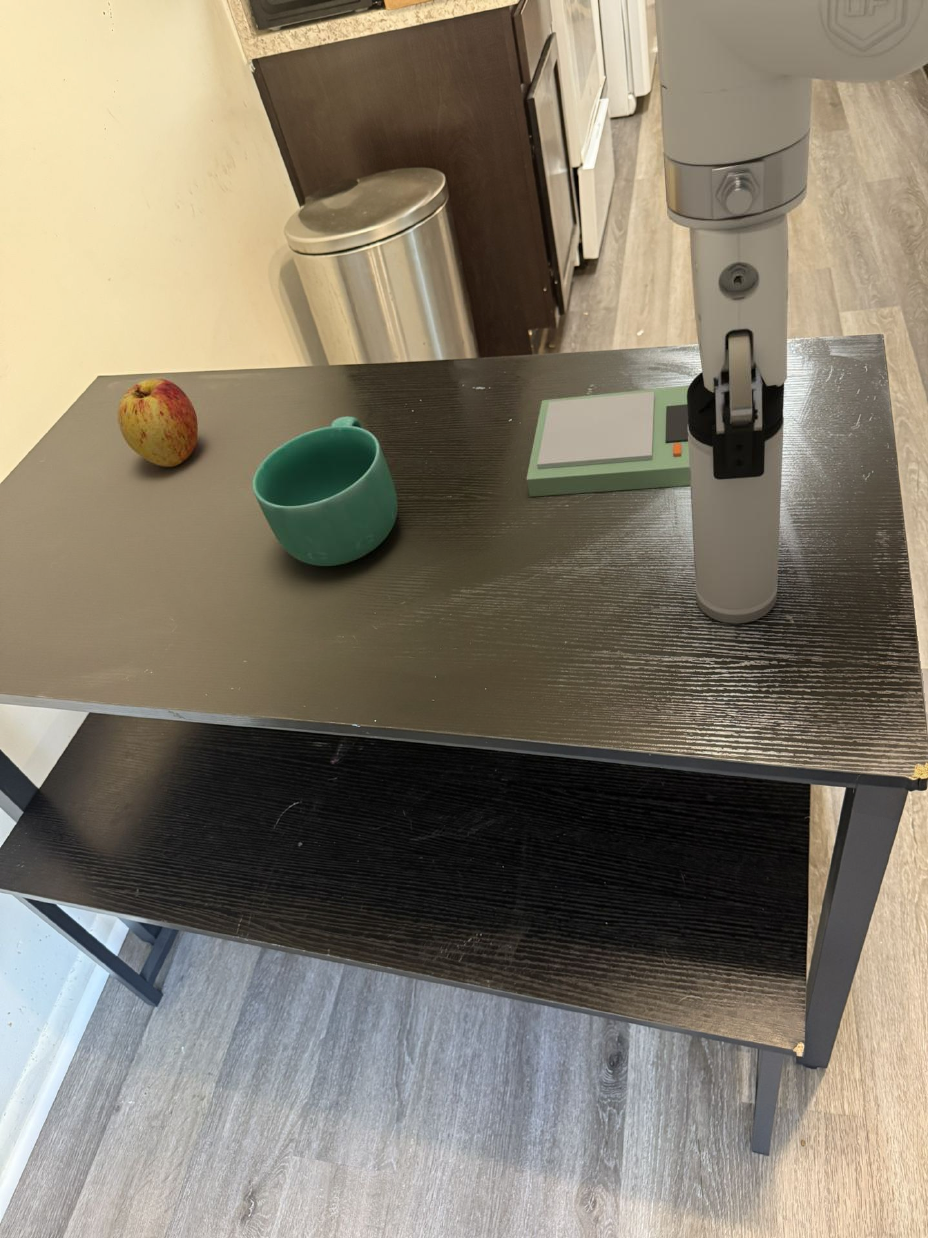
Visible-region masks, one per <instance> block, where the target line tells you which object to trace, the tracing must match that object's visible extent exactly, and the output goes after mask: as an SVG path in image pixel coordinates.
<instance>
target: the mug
mask: <svg viewBox="0 0 928 1238" xmlns="http://www.w3.org/2000/svg"><path fill="white" fill-rule="evenodd" d="M330 424H331V425H330V426H326V427H320V428H317V429H314V430H313V429H312V430H310V431H307V432H305V433H302V434H300V435H298V436H296V437H294V438H291V439H290V440H287V441H286V442H284V443H283V444H281V445H280V446H278V447H277V448H275V449H274V450H273V451H272V452H271V453H269V455H268V456H266V457H265V458H264V460H263V461H262V462H261V463H260V464H259V466H258V467H257V469H256V471H255V473H254V474H253V475H254V476H253V478H252V491H253V494H254V496H255V498H256V501H257V503H258V505H259V507H260V509H261V511H262V514H263V515H264V517H265V520H266V521H267V524H268V525H269V528H270V530H272V533H273V535H274V536H275V538H276V540H277V541H278V543H279V544H280V545H281V546H282V548H283V549H284V551H286V553H288V554H289V555H290V556H291V557H293V558H294V559H296V560H298V561H300V562H302V563H305V564H308V565H311V566H319V567H331V566H332V567H334V566H338V565H343V564H347V563H351V562H353V561H355V560H358V559H361V558H362V557H365V556H366V555H368V554H369V553H370V552H372V551H374V550H375V549H376V548H378V546H379V545H381V544H382V543H383V542H384V540H385V539H386V538H387V537H388V535H389V534H390V532H391V531H392V529H393V527H394V525H395V523H396V519H397V515H398V509H399V508H398V505H399V504H398V503H399V502H398V496H397V495H398V494H397V491H396V488H395V484H394V480H393V477H392V475H391V472H390V469H389V466H388V463H387V461H386V458H385V455H384V453H383V450H382V448H381V444H380V443H379V441H378V438H377V437H376V436H375V435H374V434H373V433H372V432H370V431H368V430H367V429H364V428H363V425H362V423H361V422H360V420H359V419H357V418H356V417H354V416H341V417H337V418H336V419H334V420H333V421H332V422H331V423H330Z"/></svg>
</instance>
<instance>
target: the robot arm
mask: <svg viewBox="0 0 928 1238" xmlns="http://www.w3.org/2000/svg"><path fill="white" fill-rule="evenodd" d="M654 12H655V13H654V14H655V27H656V47H657V63H658V79H659V80H658V81H659V96H660V97H659V98H660V116H661V117H660V118H661V133H662V149H663V166H664V167H663V169H664V184H665V187H664V188H665V202H666V215H667V217H668V219H669V220H671V221H672V222H673V223H674V224H676V225H678V226H681V227H684V228H687V229H689V245H690V247H689V248H690V267H691V281H692V295H693V306H694V307H693V309H694V318H695V319H694V320H695V327H696V335H697V344H698V351H699V358H700V366H701V372H702V373H703V379H704V386H705V387H706V388H707V389H708V390H709V391H711V392H713V393H714V390H715V399H716V425H712V440H713V475H714V478H715V479H718V480H722V479H736V478H749V477H760V476H762V475H763V474H764V459H765V421H762V385H763V383H762V378H763V380H764V382H765V384H766V385H767V386H771V385H776V386H781V385H782V384H783V383H784V384H785V382H786V381H787V380H788V317H789V316H788V311H789V310H788V308H789V307H788V306H789V225H788V223H789V222H788V213H791V211H793V210H794V209H796V208H798V207H799V205H801V204H802V203H803V201H804V200H805V199H806V197H807V194H808V173H809V172H808V171H809V155H810V154H809V153H810V134H811V133H810V132H811V131H810V130H811V117H812V100H813V99H812V97H813V79H814V80H822V81H830V82H838V83H845V84H875V83H876V84H877V83H882V82H888V81H893V80H895V79H899V78H902V77H904V76H908V75H910V74H911V73H913V72H916V71H917V70H919V69H921V68H923V67H924V66H926V65H928V0H654ZM754 368H755V378H751V369H754ZM721 371H722V372H728V371H729V380H726V381H721ZM728 392H729V394H730V407H726V409H725V412H724V393H728Z"/></svg>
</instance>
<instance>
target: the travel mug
mask: <svg viewBox="0 0 928 1238" xmlns="http://www.w3.org/2000/svg"><path fill="white" fill-rule="evenodd" d="M751 378H755V368H754V369H751ZM726 380H729V371H728V372H722V371H721V381H726ZM762 383H763V385H762V421H765V459H764V474H763V475H762V476H760V477H749V478H736V479H722V480H718V479H715V478H714V475H713V440H712V425H716V399H715V390H714V393H713V392H711V391H709V390H708V389H707V388H706V387H705V386H704V379H703V373H702V371H701V372H700V373H698V374H697V376H695V377H694V378H693V380H692V381H691V383H690V384H689V385H690V386H689V388H688V390H687V410H688V427H687V428H688V447H689V467H690V485H689V487H690V505H691V507H690V508H691V528H692V543H693V544H692V545H693V547H692V548H693V565H694V566H693V567H694V584H695V600H696V603H697V605H698V608H699V609H700V610H701V611H702V613H703V614H705V615H706V616H708V617H709V618H711V619H713V620H715V621H718V622H721V623H726V624H737V625H738V624H739V625H740V624H747V623H751V622H754V621H756V620H757V621H758V620H759V619H762V618H763V617H764V616H766V615H767V614H768V613H769V612H771V610H773V608H774V607H775V605H776V603H777V600H778V577H779V576H778V575H779V552H780V551H779V550H780V526H781V502H782V499H781V498H782V476H783V475H782V474H783V453H784V452H783V450H784V449H783V448H784V425H785V424H784V423H785V418H784V399H785V382H784V383H783V384H782V385H781V386H776V385H771V386H767V385H766V384H765V382H764V380H763V378H762ZM726 407H730V394H729V392H728V393H724V412H725V409H726Z"/></svg>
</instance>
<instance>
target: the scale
mask: <svg viewBox="0 0 928 1238" xmlns="http://www.w3.org/2000/svg"><path fill="white" fill-rule="evenodd" d="M689 386H690V384H688V385H677V386H669V387H660V388H649V389H648V388H647V389H641V390H631V391H619V392H612V393H611V392H610V393H599V394H591V395H581V396H572V397H571V396H570V397H562V398H561V397H560V398H553V399H552V398H551V399H542V400H541V403H540V408H539V413H538V414H539V415H538V417H537V418H538V419H537V423H536V429H535V434H534V438H533V443H532V448H531V453H530V459H529V464H528V468H527V474H526V479H525V480H526V485H527V489H528V494H529V497H530V498H533V497H544V496H546V497H547V496H548V497H549V496H561V495H574V494H587V493H588V494H589V493H590V494H591V493H602V492H615V491H618V492H619V491H630V490H644V489H645V490H646V489H657V488H658V489H659V488H671V487H687V486H690V467H689V447H688V428H687V427H688V410H687V390H688V388H689Z"/></svg>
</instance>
